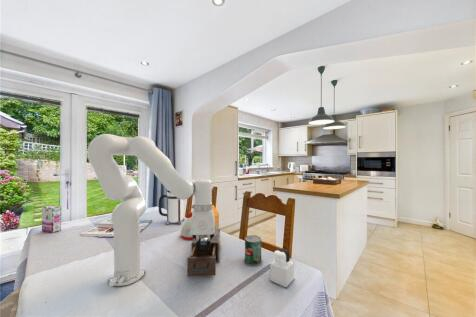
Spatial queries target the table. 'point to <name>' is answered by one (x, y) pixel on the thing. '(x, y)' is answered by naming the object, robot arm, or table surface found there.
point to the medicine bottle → (282, 268)
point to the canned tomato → (253, 250)
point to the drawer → (202, 262)
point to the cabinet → (213, 241)
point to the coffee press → (172, 208)
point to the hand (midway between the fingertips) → (203, 248)
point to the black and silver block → (203, 245)
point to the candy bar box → (51, 218)
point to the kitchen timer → (187, 228)
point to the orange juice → (216, 217)
